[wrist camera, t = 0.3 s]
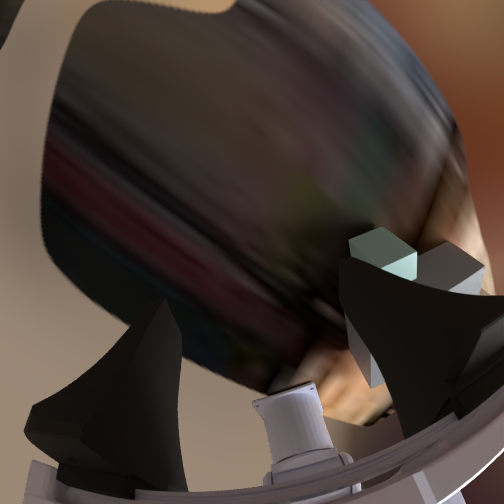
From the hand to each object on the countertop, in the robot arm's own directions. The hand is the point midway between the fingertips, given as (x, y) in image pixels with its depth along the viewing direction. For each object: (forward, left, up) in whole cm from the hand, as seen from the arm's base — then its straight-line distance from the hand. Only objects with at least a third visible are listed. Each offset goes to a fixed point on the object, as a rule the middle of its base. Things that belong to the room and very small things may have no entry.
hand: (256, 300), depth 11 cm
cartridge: (-11, -10, -9) cm, 17 cm away
